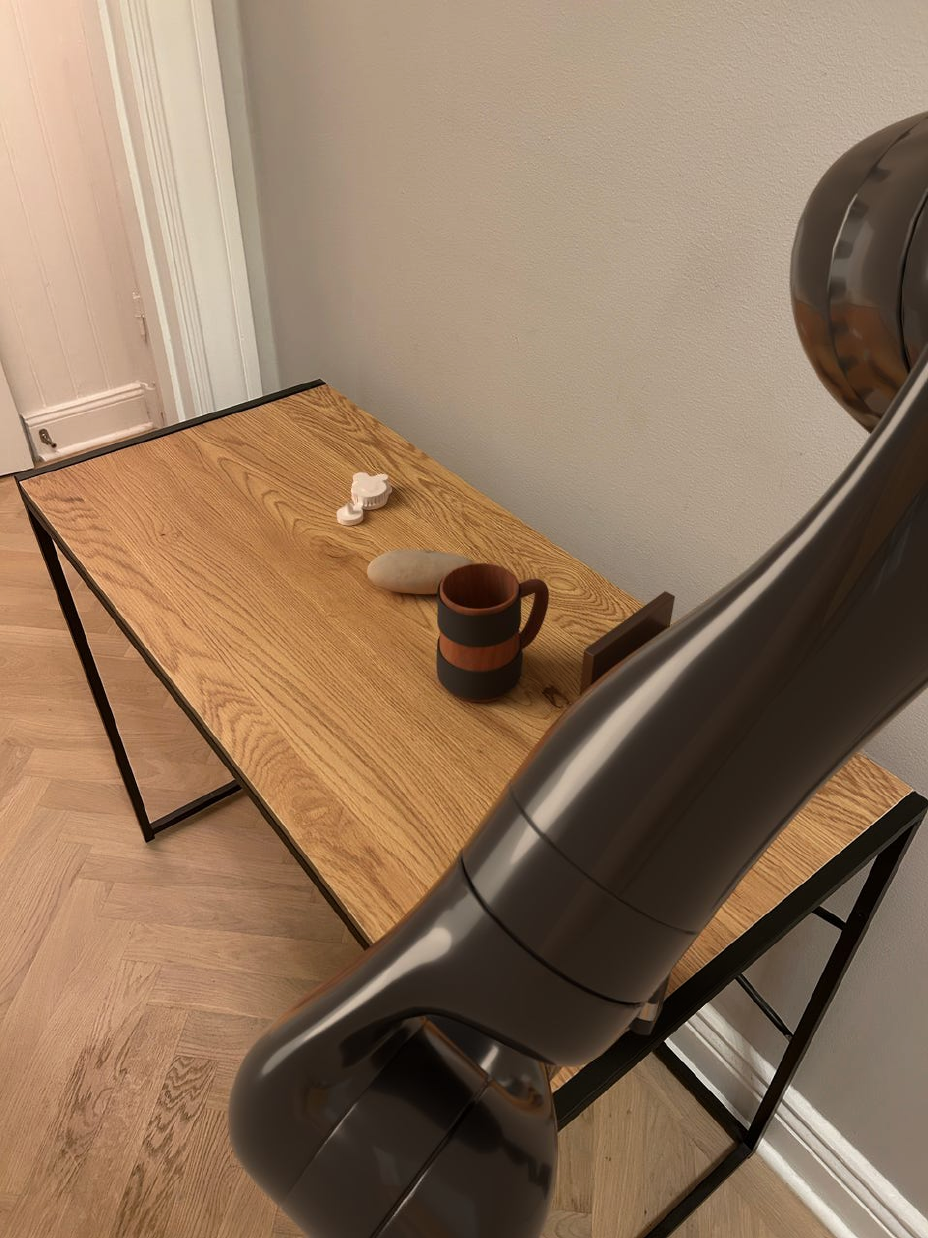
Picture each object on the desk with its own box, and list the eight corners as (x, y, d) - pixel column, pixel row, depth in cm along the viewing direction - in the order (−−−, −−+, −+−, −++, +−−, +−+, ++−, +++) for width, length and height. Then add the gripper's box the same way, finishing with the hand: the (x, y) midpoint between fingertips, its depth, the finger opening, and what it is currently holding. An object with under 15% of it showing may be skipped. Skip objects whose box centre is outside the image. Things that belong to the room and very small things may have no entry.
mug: (566, 677, 95) (574, 587, 87) (461, 718, 91) (459, 626, 83) (523, 628, 101) (527, 539, 93) (422, 664, 97) (418, 574, 89)
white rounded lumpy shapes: (327, 488, 123) (326, 474, 121) (392, 478, 124) (391, 464, 123) (339, 527, 116) (337, 513, 114) (407, 516, 117) (406, 502, 116)
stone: (365, 553, 107) (465, 521, 106) (383, 603, 109) (482, 572, 108) (359, 569, 102) (465, 536, 100) (379, 621, 104) (483, 589, 102)
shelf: (745, 722, 90) (765, 645, 84) (669, 791, 84) (685, 713, 77) (652, 667, 96) (665, 590, 90) (575, 727, 90) (583, 649, 83)
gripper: (671, 973, 44) (686, 909, 59) (393, 878, 48) (475, 841, 63) (631, 1133, 43) (657, 1027, 59) (355, 1023, 47) (447, 951, 63)
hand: (563, 931), depth 61 cm, fingers open, 8 cm apart
